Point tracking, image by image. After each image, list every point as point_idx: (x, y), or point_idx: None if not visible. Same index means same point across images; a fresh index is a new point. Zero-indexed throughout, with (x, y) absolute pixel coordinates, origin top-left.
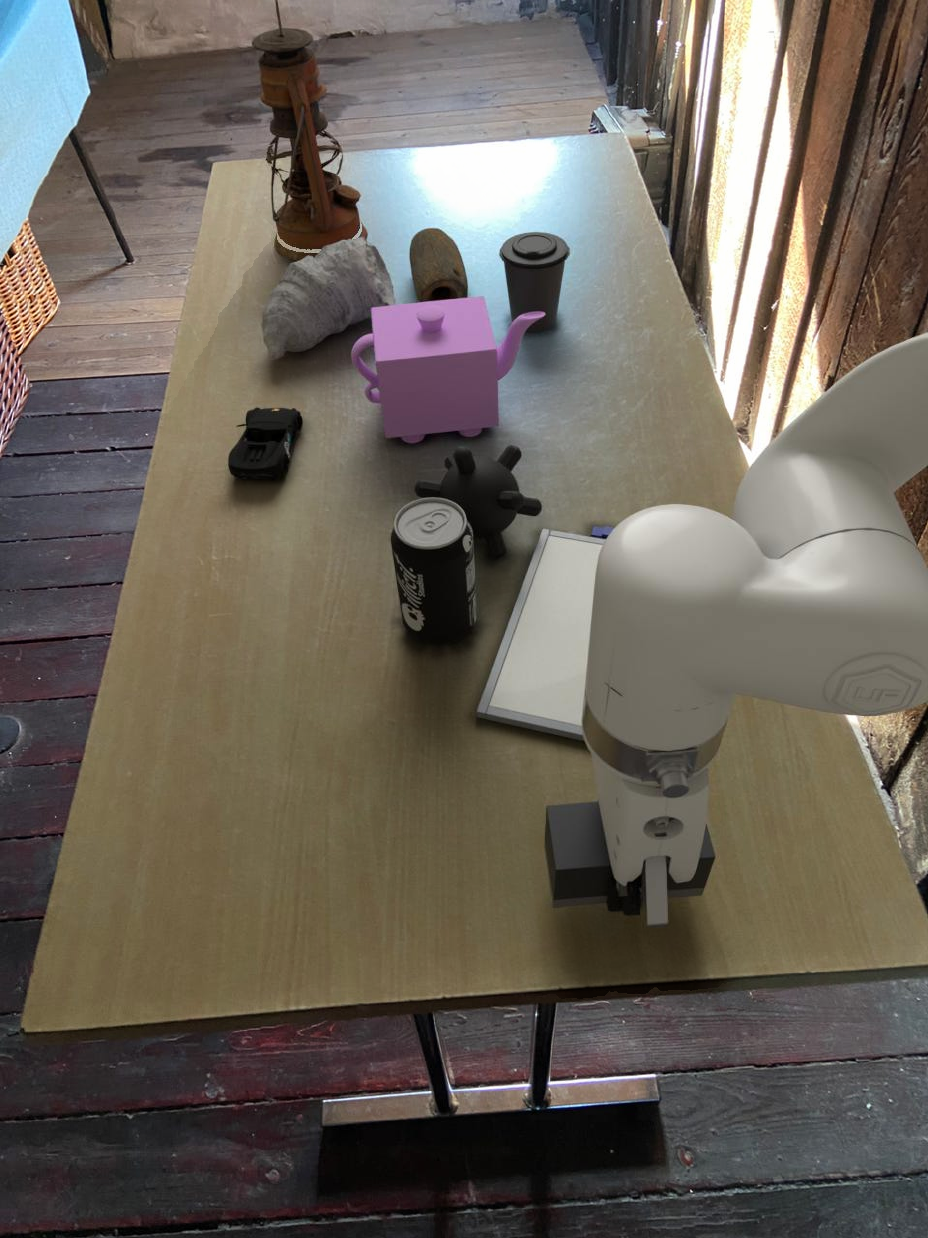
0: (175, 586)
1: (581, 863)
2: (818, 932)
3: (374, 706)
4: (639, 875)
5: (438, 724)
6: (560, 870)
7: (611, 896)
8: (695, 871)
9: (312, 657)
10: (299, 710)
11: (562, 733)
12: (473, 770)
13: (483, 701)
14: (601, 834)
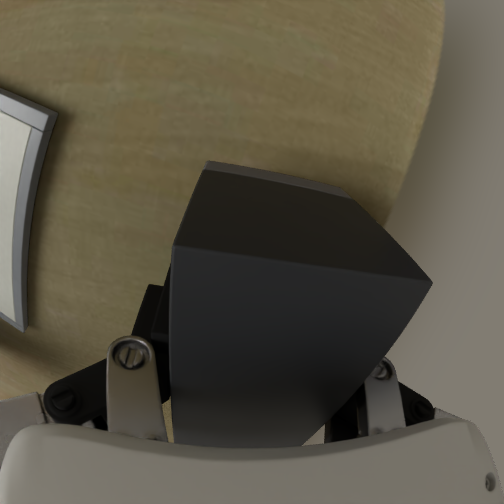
0: None
1: None
2: (402, 34)
3: (42, 376)
4: (352, 405)
5: (43, 351)
6: None
7: None
8: (489, 450)
9: (22, 385)
10: None
11: (24, 264)
12: (80, 347)
13: (13, 324)
14: (248, 439)
